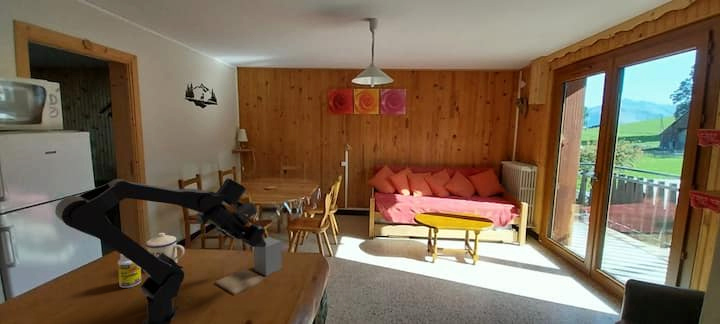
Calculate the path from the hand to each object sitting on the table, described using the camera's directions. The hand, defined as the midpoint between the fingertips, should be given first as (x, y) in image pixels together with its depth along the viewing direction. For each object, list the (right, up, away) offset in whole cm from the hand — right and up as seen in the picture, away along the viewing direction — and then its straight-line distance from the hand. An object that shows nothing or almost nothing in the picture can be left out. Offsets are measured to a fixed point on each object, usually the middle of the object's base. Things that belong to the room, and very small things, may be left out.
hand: (256, 242), depth 101 cm
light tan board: (-4, -12, -4) cm, 13 cm away
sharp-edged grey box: (+2, -11, +5) cm, 12 cm away
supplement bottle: (-37, -12, -6) cm, 40 cm away
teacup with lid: (-34, -10, +7) cm, 36 cm away
